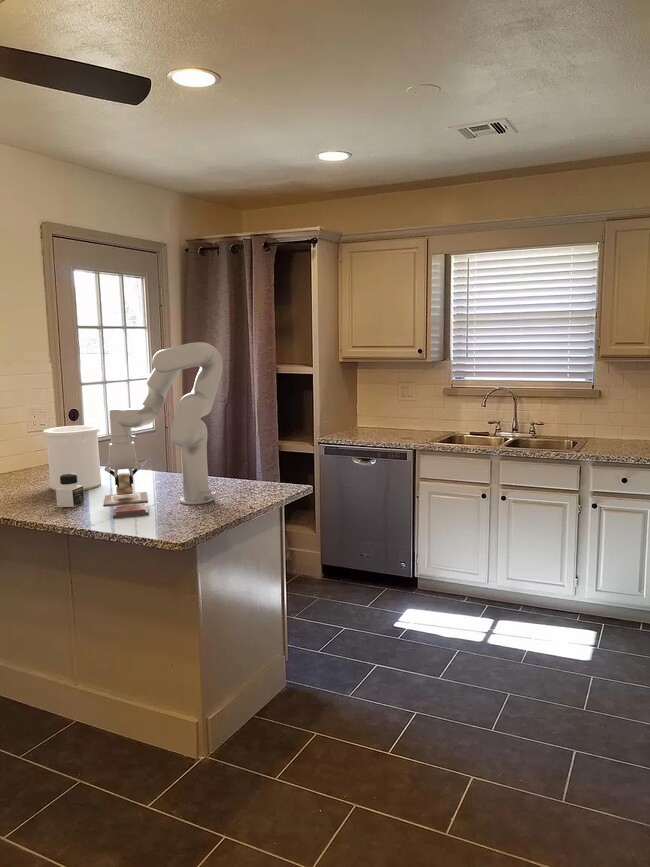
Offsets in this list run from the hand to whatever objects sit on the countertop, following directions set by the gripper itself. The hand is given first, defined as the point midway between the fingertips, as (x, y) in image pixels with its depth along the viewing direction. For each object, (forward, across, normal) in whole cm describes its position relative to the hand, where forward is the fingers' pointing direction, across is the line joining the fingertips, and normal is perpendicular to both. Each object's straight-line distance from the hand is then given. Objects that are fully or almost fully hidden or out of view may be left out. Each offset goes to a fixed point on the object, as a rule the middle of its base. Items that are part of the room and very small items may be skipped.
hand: (124, 485), depth 263 cm
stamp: (+3, 0, 0) cm, 3 cm away
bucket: (+6, +20, -32) cm, 39 cm away
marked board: (+5, 0, 0) cm, 5 cm away
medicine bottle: (+6, +20, +2) cm, 21 cm away
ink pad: (+5, -2, +23) cm, 24 cm away
